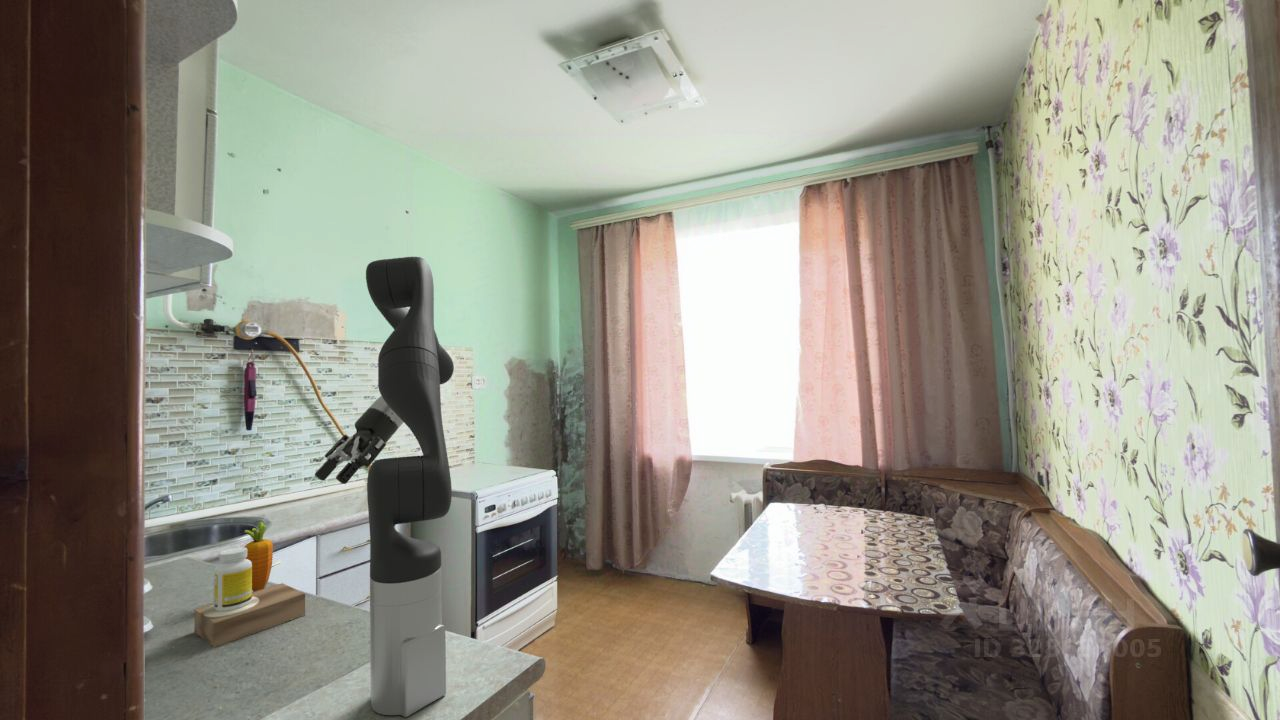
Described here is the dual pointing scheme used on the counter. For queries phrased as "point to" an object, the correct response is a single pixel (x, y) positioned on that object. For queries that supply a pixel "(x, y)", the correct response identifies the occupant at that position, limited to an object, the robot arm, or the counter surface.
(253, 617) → the walnut board
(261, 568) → the carrot
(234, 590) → the supplement bottle
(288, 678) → the counter surface
